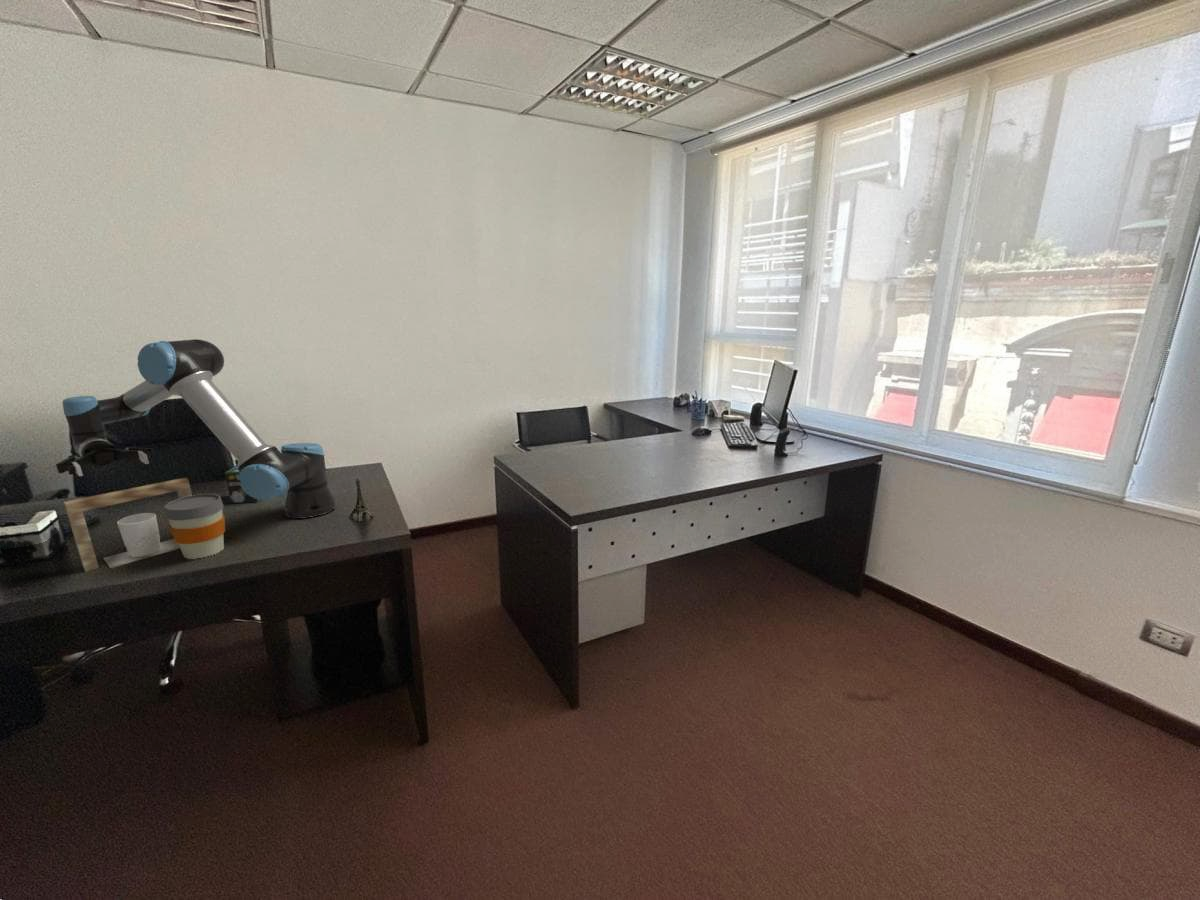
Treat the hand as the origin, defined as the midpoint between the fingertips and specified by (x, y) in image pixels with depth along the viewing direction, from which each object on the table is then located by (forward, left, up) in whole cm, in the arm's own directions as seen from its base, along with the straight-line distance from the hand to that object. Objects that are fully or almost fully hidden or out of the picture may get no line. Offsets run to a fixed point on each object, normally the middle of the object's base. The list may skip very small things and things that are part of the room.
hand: (114, 465), depth 138 cm
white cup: (-9, +5, -23) cm, 26 cm away
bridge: (-9, +5, -23) cm, 26 cm away
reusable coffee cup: (-24, +2, -24) cm, 34 cm away
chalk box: (-5, -36, -24) cm, 44 cm away
